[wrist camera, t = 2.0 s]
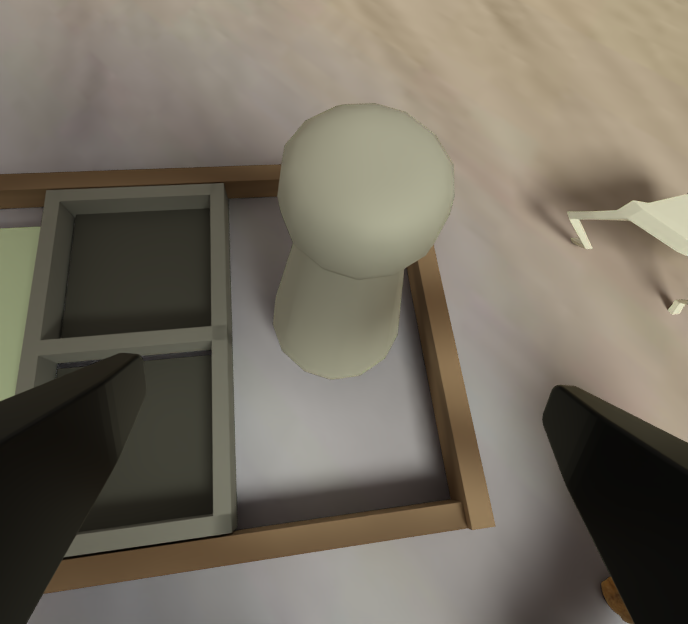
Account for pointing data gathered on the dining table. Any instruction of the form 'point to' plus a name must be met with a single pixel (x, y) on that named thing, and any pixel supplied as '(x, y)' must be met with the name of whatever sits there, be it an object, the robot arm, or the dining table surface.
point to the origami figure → (646, 225)
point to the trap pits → (145, 349)
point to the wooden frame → (308, 535)
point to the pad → (14, 299)
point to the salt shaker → (355, 232)
